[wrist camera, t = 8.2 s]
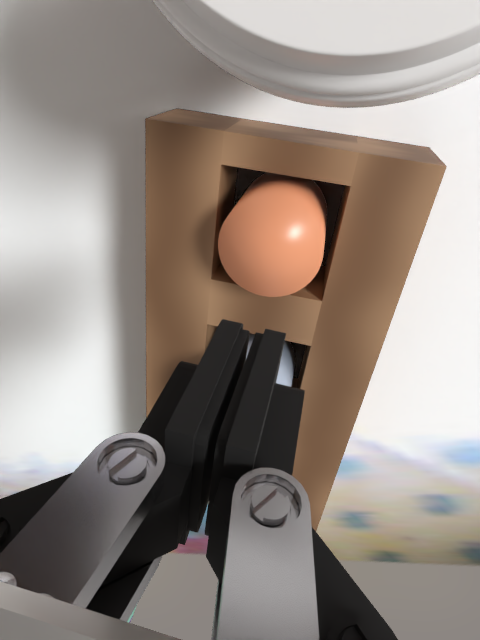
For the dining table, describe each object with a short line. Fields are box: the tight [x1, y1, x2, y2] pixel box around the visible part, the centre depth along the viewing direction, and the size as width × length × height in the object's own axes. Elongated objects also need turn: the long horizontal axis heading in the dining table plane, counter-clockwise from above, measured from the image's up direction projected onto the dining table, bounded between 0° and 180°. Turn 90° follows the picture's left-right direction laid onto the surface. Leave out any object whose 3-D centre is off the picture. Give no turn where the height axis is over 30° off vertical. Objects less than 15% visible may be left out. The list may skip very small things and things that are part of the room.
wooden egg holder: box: [145, 109, 447, 531], centre depth 25 cm, size 12×24×4 cm, turn 173°
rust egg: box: [218, 172, 327, 297], centre depth 20 cm, size 4×4×5 cm
